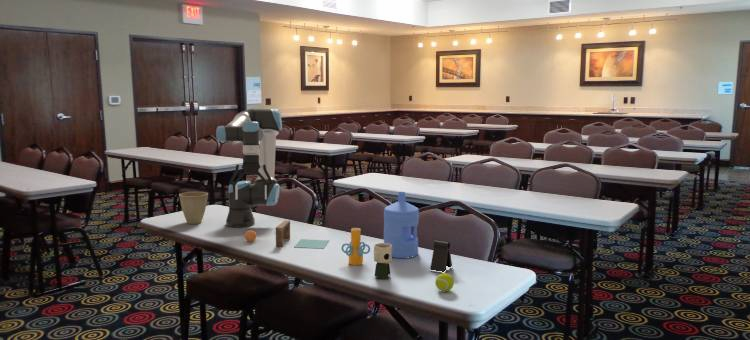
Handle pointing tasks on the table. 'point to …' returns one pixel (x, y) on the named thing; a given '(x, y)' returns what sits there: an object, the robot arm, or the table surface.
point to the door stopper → (441, 256)
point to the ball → (250, 235)
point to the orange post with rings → (355, 247)
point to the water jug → (401, 227)
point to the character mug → (382, 259)
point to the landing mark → (311, 244)
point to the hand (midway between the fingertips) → (251, 199)
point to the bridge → (282, 233)
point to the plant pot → (193, 206)
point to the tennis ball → (444, 282)
